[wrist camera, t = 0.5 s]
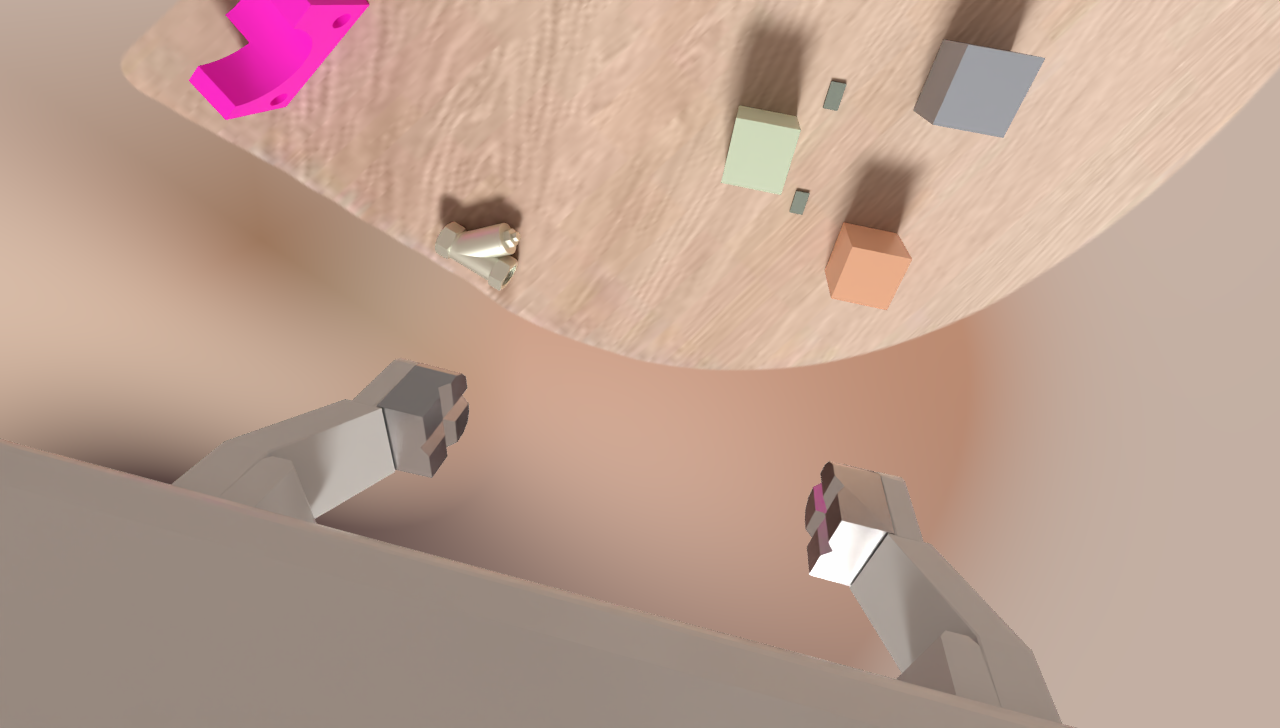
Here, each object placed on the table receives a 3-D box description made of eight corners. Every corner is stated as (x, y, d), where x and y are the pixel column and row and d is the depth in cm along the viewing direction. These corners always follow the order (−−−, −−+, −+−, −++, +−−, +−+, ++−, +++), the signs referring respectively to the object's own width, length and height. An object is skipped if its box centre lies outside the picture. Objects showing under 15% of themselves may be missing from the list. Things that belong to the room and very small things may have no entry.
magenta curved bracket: (314, -70, 43) (241, -82, 37) (370, 4, 46) (311, 5, 40) (234, 46, 50) (162, 52, 44) (287, 106, 52) (225, 119, 46)
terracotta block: (843, 222, 48) (852, 246, 43) (897, 233, 48) (912, 259, 43) (824, 270, 51) (831, 298, 46) (875, 280, 51) (886, 310, 46)
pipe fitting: (518, 243, 52) (496, 294, 56) (533, 232, 55) (511, 281, 59) (448, 200, 51) (430, 255, 55) (467, 191, 54) (449, 243, 58)
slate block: (943, 39, 39) (968, 44, 34) (1010, 51, 39) (1045, 58, 34) (913, 110, 42) (932, 124, 37) (975, 122, 42) (1003, 137, 37)
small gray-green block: (831, 81, 42) (831, 81, 42) (846, 83, 42) (846, 84, 42) (822, 107, 43) (823, 108, 43) (837, 110, 43) (837, 110, 43)
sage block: (739, 105, 44) (736, 117, 40) (796, 116, 44) (800, 130, 39) (725, 164, 47) (721, 182, 43) (778, 175, 47) (781, 194, 42)
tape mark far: (796, 190, 47) (796, 191, 47) (809, 193, 47) (809, 193, 47) (789, 211, 49) (789, 212, 48) (802, 214, 48) (802, 214, 48)
